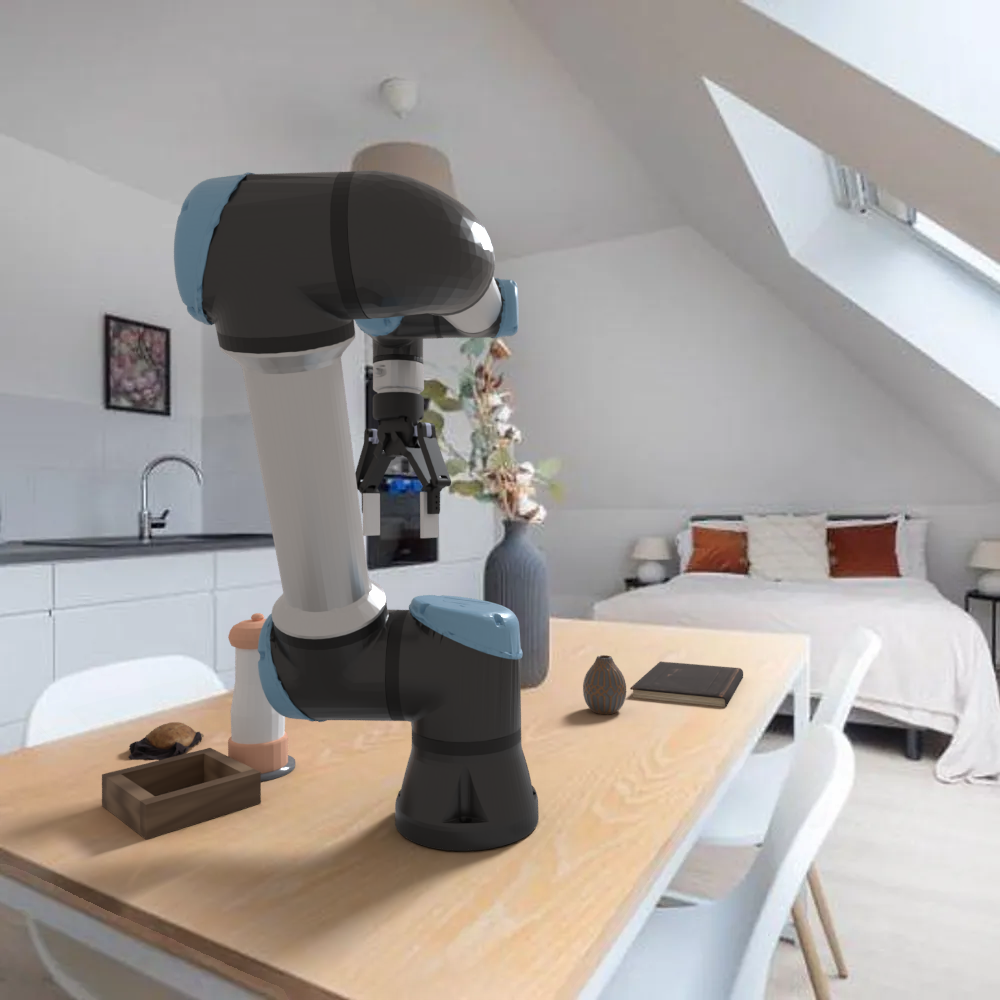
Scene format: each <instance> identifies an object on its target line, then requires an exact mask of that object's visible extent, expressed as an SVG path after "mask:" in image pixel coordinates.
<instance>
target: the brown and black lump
mask: <svg viewBox="0 0 1000 1000" xmlns="http://www.w3.org/2000/svg"><path fill="white" fill-rule="evenodd" d="M204 737H205V735H204V733H201V731H195V730H194V729H193V728H192V727H191V726H190V725H187V724H185V723H184V722H179V721H176V722H175V721H174V722H166V723H164V724H160V725H159V726H157V727H155V728H153V730H151V731H150V732H149V733H148V734H146V735H145V737H143V738H141V739H140V740H139V741H134V742H132V743H130V744H129V746H128V747H129V751H130V754H129V756H128V757H127V758H128V759H129V760H130V761H139V760H140V761H141V760H144V761H146V760H147V761H148V760H150V761H158V760H162V759H166V758H170V757H174V756H178V755H183V754H187V753H190V751H192V750H193V749H194V748H195V747H196V746H198V745H199V744H200V743H201V742H202V740H203V738H204Z"/></svg>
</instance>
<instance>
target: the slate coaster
mask: <svg viewBox="0 0 1000 1000" xmlns="http://www.w3.org/2000/svg"><path fill="white" fill-rule="evenodd" d="M295 768H296V759H295V757H293V756H291V755H290V754H288V763H287V764H286V765H285V766H284V767H282V768H280V769H278V770H275V771H271V772H267V773H261V782H265V781H266V782H267V781H270V780H274V779H278V778H281V777H283V776H286V775H288V774H290V773H291V772H293V770H294V769H295Z"/></svg>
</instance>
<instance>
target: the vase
mask: <svg viewBox="0 0 1000 1000" xmlns="http://www.w3.org/2000/svg"><path fill="white" fill-rule="evenodd" d="M582 693H583V694H582V695H583V699H584V701H585V703H586V705H587V707H588V708H589V710H591V711H592V712H593V713H595V714H598V715H611V714H616V713H618V712H619V710H620V709H622V708H623V705H624V704H625V701H626V696H627V683H626V680H625V676H624V674H623V673H622V671H621V670H620V668H619V667H618V666H617V664H616V663H615V661H614V659H613V657H612V656H610V655H605V654H603V655H597V656H596V658H595V660H594V661H593V664H592V665H591V666H590V667H589V669H588V670H587V672H586V673H585V676H584V678H583V684H582Z"/></svg>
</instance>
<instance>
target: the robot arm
mask: <svg viewBox="0 0 1000 1000" xmlns="http://www.w3.org/2000/svg"><path fill="white" fill-rule="evenodd" d="M485 227H486V226H484V225H483V223H482V221H481V220H480V219H479V218H478V217H477V215H475V213H473V212H472V211H471V210H470V209H469V208H468V207H467V206H465V205H464V204H463V203H462V202H460V201H459V200H457V199H456V198H454V197H452V196H451V195H449V194H447V193H446V192H444V191H442V190H440V189H439V188H437V187H435V186H432V185H430V184H428V183H426V182H424V181H420V180H418V179H415V178H413V177H411V176H409V175H404V174H401V173H395V172H393V171H385V170H378V169H359V170H356V171H351V170H350V171H321V172H320V171H317V172H315V171H313V172H285V173H284V172H283V173H279V172H278V173H253V172H245V173H243V174H236V175H228V176H221V177H220V176H219V177H212V178H209V179H208V178H207V179H205V180H203V181H200V182H198V184H196V185H195V186H194V187H193V188H192V189H191V190H190V191H189V192H188V194H187V196H186V197H185V199H184V201H183V203H182V206H181V210H180V212H179V215H178V216H177V219H176V227H175V232H174V241H173V265H174V274H175V275H174V276H175V280H176V285H177V289H178V292H179V297H180V299H181V301H182V303H183V304H184V305H185V306H186V310H187V312H188V314H189V315H190V316H191V317H192V318H193V319H194V320H196V321H198V322H200V323H203V324H204V325H207V326H212V325H214V326H215V330H216V337H217V339H218V347H219V349H220V351H221V352H222V353H224V354H225V355H227V357H229V358H230V359H232V360H233V361H235V362H236V363H237V364H239V365H240V367H241V368H242V373H243V379H244V384H245V391H246V397H247V400H248V408H249V413H250V418H251V422H252V423H251V424H252V429H253V435H254V439H255V444H256V445H255V446H256V450H257V456H258V463H259V467H260V472H261V478H262V479H261V480H262V483H263V489H264V494H265V501H266V504H267V510H268V511H267V512H268V518H269V522H270V527H271V533H272V538H273V544H274V548H275V549H274V550H275V554H276V559H277V565H278V571H279V576H280V582H281V587H282V592H283V593H282V594H281V595H280V596H279V597H278V598H277V600H276V601H275V602H274V604H273V606H272V610H271V613H270V614H269V615H267V618H265V619H266V620H265V622H264V624H263V626H262V629H261V632H260V636H259V642H258V652H259V654H260V660H259V661H258V671H259V677H260V681H261V685H262V689H263V691H264V694H265V696H266V698H267V700H268V702H269V703H270V705H271V706H272V707H273V709H274V710H275V711H276V712H278V713H279V714H280V715H282V716H284V717H285V718H288V719H294V720H304V721H305V720H307V721H309V722H311V723H312V722H319V723H322V722H326V721H365V722H366V721H368V722H369V721H371V722H372V721H373V722H374V721H376V722H378V721H380V722H410V724H411V750H410V753H409V757H408V761H407V765H406V768H405V772H404V776H403V779H402V784H401V789H400V790H398V793H397V796H396V798H395V806H394V807H395V808H394V812H395V815H394V819H395V820H394V821H395V823H394V824H395V827H396V829H397V832H399V833H400V834H401V836H403V837H404V838H406V839H407V840H409V841H411V842H413V843H415V844H417V845H421V846H424V847H427V848H432V849H437V850H442V851H443V850H444V851H454V852H455V851H459V852H463V851H464V852H465V851H469V852H470V851H481V850H489V849H494V848H499V847H503V846H507V845H510V844H512V843H515V842H517V841H521V839H524V838H525V837H527V836H529V834H531V833H532V832H533V831H534V830H535V829H536V827H537V826H538V823H539V797H538V793H537V791H536V788H535V787H534V786H533V785H532V780H531V775H530V771H529V767H528V764H527V760H526V759H527V758H526V757H525V753H524V750H523V746H522V703H521V702H522V696H521V695H522V694H521V693H522V692H521V690H522V689H521V686H522V685H521V659H522V658H523V655H524V653H523V649H522V648H521V634H520V632H521V631H520V622H519V619H518V617H517V615H516V614H515V612H513V611H512V610H511V609H510V608H508V607H506V606H504V605H501V604H498V603H495V602H491V601H487V600H482V599H477V598H471V597H464V596H463V597H462V596H455V595H444V594H443V595H435V594H434V595H433V594H423V595H417V596H415V597H413V598H412V599H411V601H410V603H409V606H408V609H388V606H387V596H386V593H385V590H384V588H383V587H382V586H381V585H380V584H378V583H377V582H376V581H374V580H372V579H370V578H369V570H368V565H367V564H368V563H367V555H366V547H365V539H364V536H366V537H368V536H371V537H372V536H381V493H380V491H379V486H380V484H381V482H382V480H383V478H384V476H385V475H386V472H387V470H388V468H389V466H390V464H391V462H392V461H394V460H395V459H396V458H400V457H403V458H406V459H407V461H408V463H409V465H410V467H411V468H412V470H413V472H414V473H415V475H416V476H417V479H418V480H419V482H420V484H421V486H422V487H421V489H420V492H419V505H420V506H419V508H420V509H419V514H420V515H419V516H420V517H419V520H420V521H419V526H420V530H419V532H420V533H419V535H420V537H419V538H420V539H431V538H432V539H434V538H436V539H437V538H439V515H440V513H441V491H442V490H443V489H444V488H446V487H450V486H451V484H452V480H451V477H450V474H449V472H448V469H447V466H446V462H445V460H444V457H443V454H442V450H441V448H440V446H439V442H438V440H437V432H436V431H437V430H436V424H435V423H434V422H423V421H422V420H423V419H424V417H425V412H424V411H425V409H424V408H425V406H424V405H425V401H424V400H425V399H424V398H425V397H424V396H423V395H422V394H421V393H422V392H423V391H424V390H425V373H424V371H425V370H424V367H425V366H424V340H425V339H426V340H427V339H432V340H434V339H449V338H450V339H456V338H457V339H462V338H464V339H465V338H467V339H469V338H470V339H471V338H472V339H473V338H477V339H478V338H490V339H497V338H503V337H504V338H505V337H512V336H514V335H516V334H517V333H518V331H519V315H520V311H519V310H520V309H519V306H520V305H519V303H520V302H519V289H518V284H517V282H516V281H515V280H513V279H501V278H499V277H494V276H495V270H496V258H495V251H494V247H493V244H492V240H491V238H490V235H489V234H488V232H487V229H486V228H485ZM355 324H356V325H357V327H358V328H359V330H360V331H362V332H363V333H364V334H366V335H368V336H369V337H370V338H371V341H372V390H373V391H374V392H376V393H375V394H374V395H373V396H372V417H373V419H374V420H375V421H377V422H378V428H377V429H376V428H365V429H364V432H363V433H364V434H363V436H364V437H363V445H362V448H361V452H360V455H359V459H358V462H357V466H356V467H355V460H354V453H353V452H354V451H353V443H352V442H353V441H352V434H351V427H350V421H349V420H350V418H349V413H348V412H349V411H348V403H347V396H346V389H345V381H344V373H343V364H342V356H343V353H344V352H345V351H346V350H347V348H348V347H349V346H350V345H351V344H352V343H353V341H354V340H355V339H356V329H355ZM358 491H359V492H358ZM359 493H360V494H361V506H360V500H359ZM360 507H361V508H360ZM361 513H362V515H361Z"/></svg>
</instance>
